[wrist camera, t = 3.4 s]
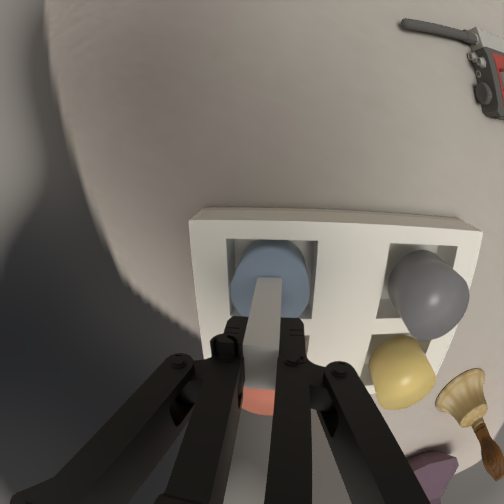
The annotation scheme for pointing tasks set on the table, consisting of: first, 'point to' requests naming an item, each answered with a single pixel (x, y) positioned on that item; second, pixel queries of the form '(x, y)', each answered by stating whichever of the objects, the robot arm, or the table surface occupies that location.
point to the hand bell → (472, 415)
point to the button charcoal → (427, 294)
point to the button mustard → (400, 373)
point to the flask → (433, 473)
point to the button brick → (258, 401)
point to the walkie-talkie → (477, 62)
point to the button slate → (272, 275)
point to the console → (329, 272)
